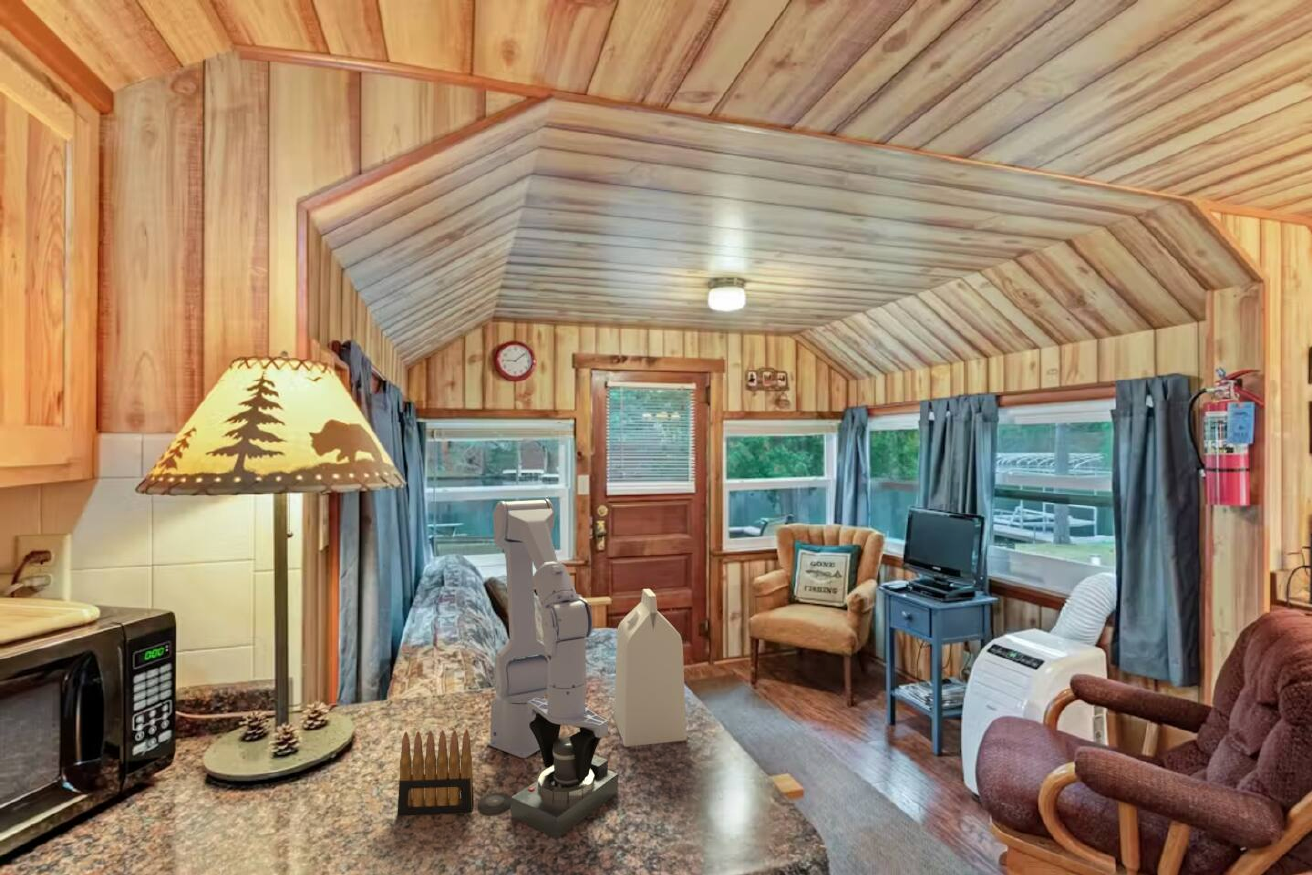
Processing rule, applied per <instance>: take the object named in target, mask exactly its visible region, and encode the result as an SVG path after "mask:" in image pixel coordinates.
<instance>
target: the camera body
mask: <svg viewBox="0 0 1312 875" xmlns="http://www.w3.org/2000/svg"><path fill="white" fill-rule="evenodd" d="M618 793H619V773H617V772H614V771H612V770H609V759H606V758H603V757H601V756H598V755H595V754H594V756H593V759H592V763H591V767H590V771H589V776H587V777H586V778H584V781H583V782H582V783H580V784H579V785H577V786H573V787H569V788H561V787H555V781H554V765H552V766H551V767H549V768H546V769H544V770H543V771H541V773H540V775H539V776H538V779H537V780H536V781H534V782H533V783H532V784H530V785H528V786H527V787H525V788H523V789H522V790H520V791H518V792H517V793H516V794H513V795H512V796H510V797H511V806H510V818H511V819H513V820H515V821H518V822H520V823H521V824H524V825H526V826H528V827H530V828H533V829H535V830H536V831H539V832H541V833H543V834H545V835H548V836H550V837H552V838H553V839H556V840H558V839H560V837H562V836H563V835H564V834H566V833H567V832H569V831H570V830H571V829H572V828H574V827H575V826H576V825H578V824H579V823H580V822H581V821H583V820H584V819H585V818H587V817H588V816H590V815H591V814H592V813H593V812H595V811H596V810H597V809H599V808H600V807H602V806H603V805H604V804H605V803H607V802H608V801H609V800H611V799H612V798H614V797H615V796H616V795H617V794H618Z"/></svg>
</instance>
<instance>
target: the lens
mask: <svg viewBox="0 0 1312 875" xmlns="http://www.w3.org/2000/svg"><path fill="white" fill-rule="evenodd" d="M553 756H554V765H553V766H554V781H555V787H561V788H569V787H573V786H577V785H579V784H580V783H582V782H583V781H584V779H583V780H581V781H579V780H577V779H576V774H575V756H574V751H573V747H572V744H571V741H570V735H569V736H562V737H560V738H559V739H558V740H556V741H555V742H554V744H553Z"/></svg>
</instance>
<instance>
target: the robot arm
mask: <svg viewBox="0 0 1312 875" xmlns="http://www.w3.org/2000/svg"><path fill="white" fill-rule="evenodd" d="M555 511H556V510H555V507H554V505H553V503H552V502H551V500H550V499H549V498H544V499H538V500H537V499H536V500H535V499H533V500H514V501H504V500H500V501H498V502H497V504H495V507H494V510H493V536H494V542H495V546H496V547H497V548H499V549H502V550H503V551H504V558H505V567H506V571H505V572H506V586H507V587H506V590H507V609H508V612H507V613H508V630H509V640H508V641H507V642H506V643H505V644H504V645H503V646H502V647H500V649H499V650H498V651H497V652H496V653H495V656H494V669H493V686H494V690H495V693H496V695H495V696H494V698H493V700H492V702H491V706H490V739H489V740H488V741H486V745H488V746H490V747H492V748H495V749H498V750H500V751H503V752H505V753H507V754H509V755H513V756H515V757H518V758H520V759H526V758H528V757H530V756H532V755H533V754H535V753H537V752H538V751H540V754H541V758H542V761H543V766H544V768H546V769H548V768H549V767H552V766H554V756H553V744H554V742H555V741H556V740H558V739H560V738H559V737H560V731H561V726H571V727H573V728H577V729H579V731H577V732H576V733H574V734H572V735H571V736H570V735H569V736H570V741H571V744H572V747H573V751H574V756H575V774H576V779H577V780H579V781H581V780H583V779H584V778H586V777H587V776H589V771H590V767H591V763H592V759H593V756H594V755H595V752H596V750H597V747H598V745H599V744H600V741H601V739H602V737H604V736H606V735H608V733H609V719H606V718H604V717H601V716H600V715H598V714H596V712H594V711H592V710H591V709H589V707H588V705H589V704H588V702H587V701H586V699H587V698H586V694H587V693H586V688H587V686H586V682H587V681H586V677H587V676H586V673H587V670H586V669H587V668H586V667H587V663H586V662H587V661H586V660H587V657H586V656H587V654H586V651H587V648H586V647H587V645H586V643H587V641H586V638H589V637H591V635H592V632H593V615H592V610H591V607H590V604H589V602H588V601H587V599H585V598H584V597H583V595H582V594H578V593H577V591H576V587H575V585H574V582H573V581H572V578H571V575H570V572H569V570H568V568H567V566H566V565H565V564H563V563H560V562H559V561H558V559H557V554H556V550H555V546H554V543H553V537H552V534H553V530H554V527H555V523H556V512H555ZM533 565H534V567H533ZM533 568H535V570H536V571H535V572H533V571H534V569H533ZM535 591H536V595H537V597H538V600H539V603H540V606H541V610H542V614H541V628H542V634H543V640H544V641H541V640H539V639H537V622H536V607H535V606H536V605H535ZM545 697H547V699H545Z"/></svg>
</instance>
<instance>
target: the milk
mask: <svg viewBox="0 0 1312 875" xmlns="http://www.w3.org/2000/svg"><path fill="white" fill-rule="evenodd" d="M641 593H642V594H641V600H640V602H639V603H638V604H637V605H636V606H635V607H634V608H633V609H632V610H631V611H629V613H627V615H626V616H625V617H624V618H622V620H621V621H620V622H619V624H618V627H617V630H616V632H617V633H616V652H615V653H616V657H615V658H616V659H615V680H614V683H615V684H614V702H613V703H614V707H613V708H614V710H613V720H614V722H615V725H616V728H617V730H618V733H619V736H620V737H621V738H620V739H621V740H622V743H623V746H624V747H625V748H626V747H627V748H628V747H636V746H644V745H646V746H647V745H654V744H661V743H662V744H663V743H664V744H665V743H673V742H681V741H687V740H688V739H687V719H686V718H687V717H686V716H687V715H686V696H685V694H686V693H685V692H686V691H685V674H684V673H685V670H684V667H685V666H684V647H683V646H684V645H683V640H682V636H681V634H680V633H679V632H678V631H677V629H676V628H675V626H673V625H672V623H671V622H670V621H669V620H668V619H667V618H666V617H665V616H663V614H661V613H660V612H659V611H658V604H657V603H658V602H657V595H656V594H655V593H654V592H653V590H651V588H643V589H642V592H641Z"/></svg>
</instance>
